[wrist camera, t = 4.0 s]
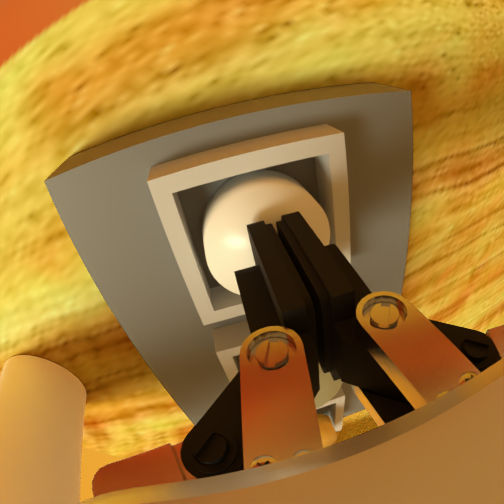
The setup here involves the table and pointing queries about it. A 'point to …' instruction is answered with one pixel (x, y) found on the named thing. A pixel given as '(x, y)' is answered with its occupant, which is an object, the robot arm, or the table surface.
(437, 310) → the table surface
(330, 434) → the amber button
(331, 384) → the sage button
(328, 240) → the cream button
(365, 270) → the button panel
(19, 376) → the cylindrical container
